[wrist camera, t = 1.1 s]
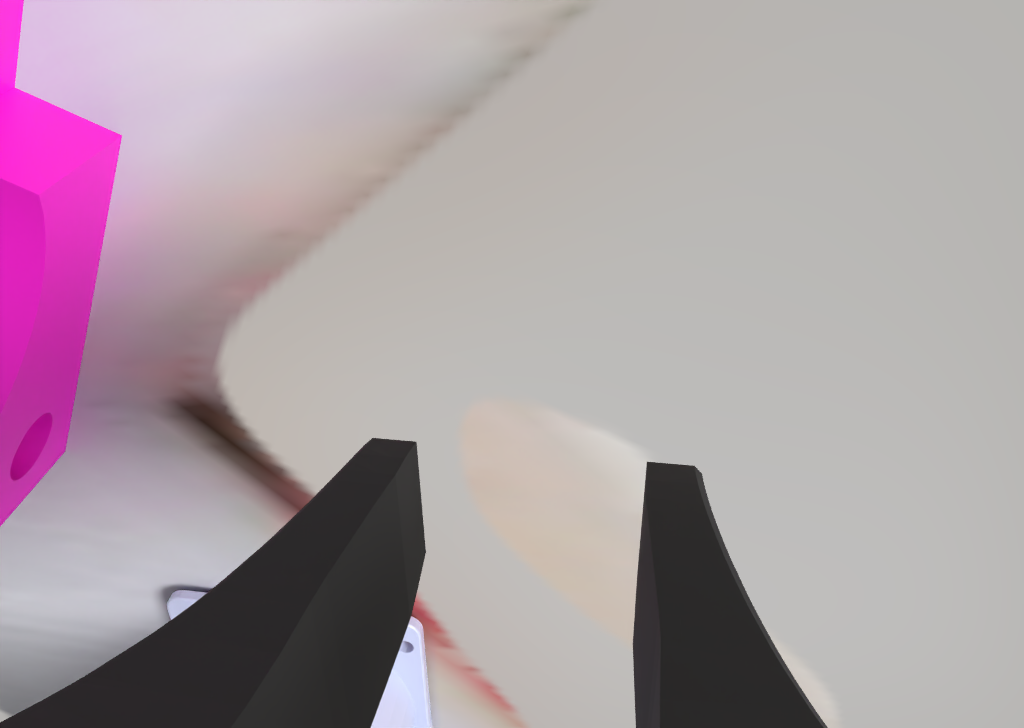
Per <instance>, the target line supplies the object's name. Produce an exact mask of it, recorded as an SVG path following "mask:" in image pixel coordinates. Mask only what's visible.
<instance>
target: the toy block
mask: <svg viewBox="0 0 1024 728" xmlns="http://www.w3.org/2000/svg"><path fill="white" fill-rule="evenodd" d="M23 1H24V0H0V526H1V525H2V524H3V523H4V522H5V520H6V519H7V518H8V517H9V516H10V515H11V513H12V512H13V511H14V510H15V509H16V508H17V506H18V505H19V504H20V503H21V502H22V501H23V499H24V498H25V497H26V496H27V495H28V494H29V493H30V491H31V490H32V489H33V488H34V487H35V486H36V484H37V483H38V482H39V481H40V480H41V479H42V477H43V476H44V475H45V474H46V473H47V472H48V471H49V469H50V468H51V467H52V466H53V465H54V464H55V462H56V461H57V460H58V459H59V458H60V457H61V455H62V454H63V453H64V452H65V449H66V443H67V438H68V432H69V427H70V421H71V416H72V410H73V404H74V399H75V393H76V388H77V382H78V377H79V371H80V366H81V360H82V355H83V349H84V343H85V338H86V332H87V327H88V321H89V316H90V310H91V305H92V299H93V293H94V288H95V282H96V277H97V271H98V266H99V260H100V255H101V249H102V244H103V238H104V232H105V227H106V221H107V216H108V210H109V205H110V199H111V194H112V188H113V183H114V177H115V171H116V166H117V160H118V155H119V149H120V144H121V138H122V135H119V134H117V133H115V132H113V131H111V130H108V129H106V128H104V127H102V126H99V125H97V124H95V123H93V122H90V121H88V120H86V119H84V118H82V117H79V116H77V115H75V114H73V113H70V112H68V111H66V110H64V109H61V108H59V107H57V106H55V105H52V104H50V103H48V102H46V101H44V100H41V99H39V98H37V97H35V96H32V95H30V94H28V93H26V92H23V91H21V90H19V89H17V88H15V78H16V68H17V59H18V49H19V40H20V30H21V21H22V11H23Z"/></svg>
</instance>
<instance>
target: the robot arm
mask: <svg viewBox="0 0 1024 728" xmlns="http://www.w3.org/2000/svg"><path fill="white" fill-rule="evenodd" d="M425 553H426V550H425V540H424V526H423V515H422V503H421V492H420V479H419V467H418V456H417V444H416V442H412V441H400V440H389V439H378V438H372V439H371V440H370V441H369V442H368V443H367V444H365V445H364V446H363V447H362V448H361V449H360V450H359V451H358V452H357V453H356V454H355V455H354V457H353V458H352V459H351V460H350V461H349V462H348V463H347V464H346V465H345V466H344V467H343V468H342V469H341V470H340V471H339V472H338V473H337V474H336V475H335V476H334V477H333V478H332V480H330V481H329V482H328V483H327V484H326V485H325V486H324V488H323V489H321V491H320V492H318V494H317V495H316V496H315V497H314V498H313V499H312V500H311V501H310V502H309V503H308V504H306V505H305V506H304V507H303V508H302V509H301V510H300V511H299V512H298V513H297V514H296V515H295V516H294V517H293V518H292V519H291V520H290V521H289V522H288V523H287V524H286V525H285V526H284V527H282V528H281V529H280V530H279V531H278V532H277V533H276V534H275V535H274V536H273V537H272V538H271V539H270V540H269V541H268V542H266V543H265V544H264V545H263V546H262V547H261V548H260V549H258V550H257V551H256V552H255V553H254V554H253V555H252V556H250V557H249V558H248V559H247V560H246V561H245V562H243V563H242V564H241V565H240V566H239V567H238V568H237V569H235V570H234V571H233V572H232V573H231V574H230V575H228V576H227V577H226V578H225V579H224V580H223V581H221V582H220V583H219V584H218V585H216V586H215V587H214V588H213V589H211V590H210V591H209V592H208V593H206V592H197V591H188V590H177V591H175V592H173V593H172V595H171V597H170V598H169V600H168V602H167V609H168V612H169V616H170V619H171V621H169V622H168V623H166V624H165V625H164V626H162V627H161V628H160V629H158V630H157V631H155V632H154V633H152V634H151V635H149V636H148V637H146V638H145V639H143V640H142V641H140V642H138V643H137V644H135V645H134V646H132V647H131V648H129V649H127V650H126V651H124V652H123V653H121V654H119V655H118V656H116V657H115V658H113V659H112V660H110V661H108V662H107V663H105V664H104V665H102V666H100V667H99V668H97V669H96V670H94V671H93V672H91V673H89V674H88V675H86V676H85V677H83V678H81V679H79V680H78V681H76V682H74V683H72V684H71V685H69V686H67V687H65V688H64V689H62V690H60V691H58V692H56V693H55V694H53V695H51V696H49V697H48V698H46V699H44V700H42V701H40V702H38V703H37V704H35V705H33V706H31V707H29V708H27V709H25V710H23V711H21V712H19V713H18V714H16V715H14V716H12V717H10V718H8V719H6V720H4V721H3V722H1V723H0V728H432V720H431V709H430V698H429V687H428V676H427V666H426V655H425V644H424V633H423V627H422V624H421V623H420V622H419V621H418V620H417V619H416V618H414V617H412V616H411V614H412V610H413V606H414V602H415V597H416V593H417V589H418V585H419V580H420V576H421V571H422V567H423V562H424V558H425ZM406 641H407V642H406ZM633 657H634V658H633V659H634V687H635V713H636V728H827V726H826V725H825V723H824V722H823V721H822V719H821V718H820V716H819V715H818V713H817V712H816V711H815V709H814V708H813V706H812V705H811V703H810V702H809V700H808V699H807V697H806V695H805V694H804V692H803V691H802V689H801V688H800V686H799V685H798V683H797V682H796V680H795V679H794V677H793V675H792V674H791V672H790V671H789V669H788V667H787V666H786V664H785V662H784V661H783V659H782V657H781V656H780V654H779V652H778V650H777V649H776V647H775V645H774V643H773V642H772V640H771V638H770V636H769V634H768V633H767V631H766V629H765V627H764V625H763V624H762V622H761V620H760V618H759V616H758V614H757V613H756V610H755V609H754V607H753V605H752V603H751V601H750V599H749V597H748V595H747V593H746V591H745V588H744V586H743V584H742V582H741V580H740V578H739V576H738V573H737V571H736V569H735V567H734V565H733V563H732V561H731V558H730V556H729V554H728V551H727V549H726V547H725V544H724V542H723V539H722V537H721V534H720V532H719V529H718V526H717V524H716V521H715V519H714V516H713V513H712V510H711V507H710V504H709V501H708V497H707V494H706V490H705V486H704V482H703V478H702V473H701V472H699V470H698V469H697V468H696V467H695V466H689V465H678V464H666V463H655V462H647V468H646V480H645V492H644V504H643V515H642V527H641V539H640V550H639V562H638V574H637V589H636V604H635V620H634V636H633Z"/></svg>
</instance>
